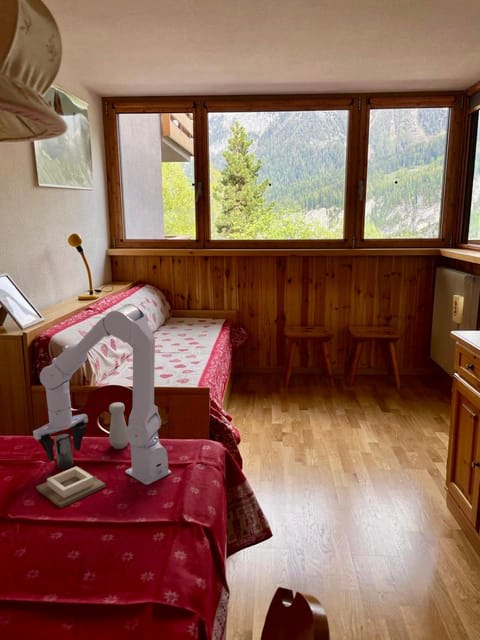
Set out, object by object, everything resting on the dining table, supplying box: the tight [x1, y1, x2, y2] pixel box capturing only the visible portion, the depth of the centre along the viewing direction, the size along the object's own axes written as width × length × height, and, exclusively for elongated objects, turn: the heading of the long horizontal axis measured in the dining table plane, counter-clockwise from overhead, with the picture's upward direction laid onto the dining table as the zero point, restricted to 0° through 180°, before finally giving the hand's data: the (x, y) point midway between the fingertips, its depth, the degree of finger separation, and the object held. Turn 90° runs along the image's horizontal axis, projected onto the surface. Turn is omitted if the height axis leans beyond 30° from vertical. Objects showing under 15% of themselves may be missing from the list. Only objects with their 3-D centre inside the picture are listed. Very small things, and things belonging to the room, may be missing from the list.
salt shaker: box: [108, 401, 129, 450], centre depth 145 cm, size 6×6×13 cm
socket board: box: [36, 465, 106, 509], centre depth 124 cm, size 12×12×3 cm
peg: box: [54, 433, 74, 469], centre depth 135 cm, size 4×4×8 cm
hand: (64, 454), depth 135 cm, fingers open, 7 cm apart
